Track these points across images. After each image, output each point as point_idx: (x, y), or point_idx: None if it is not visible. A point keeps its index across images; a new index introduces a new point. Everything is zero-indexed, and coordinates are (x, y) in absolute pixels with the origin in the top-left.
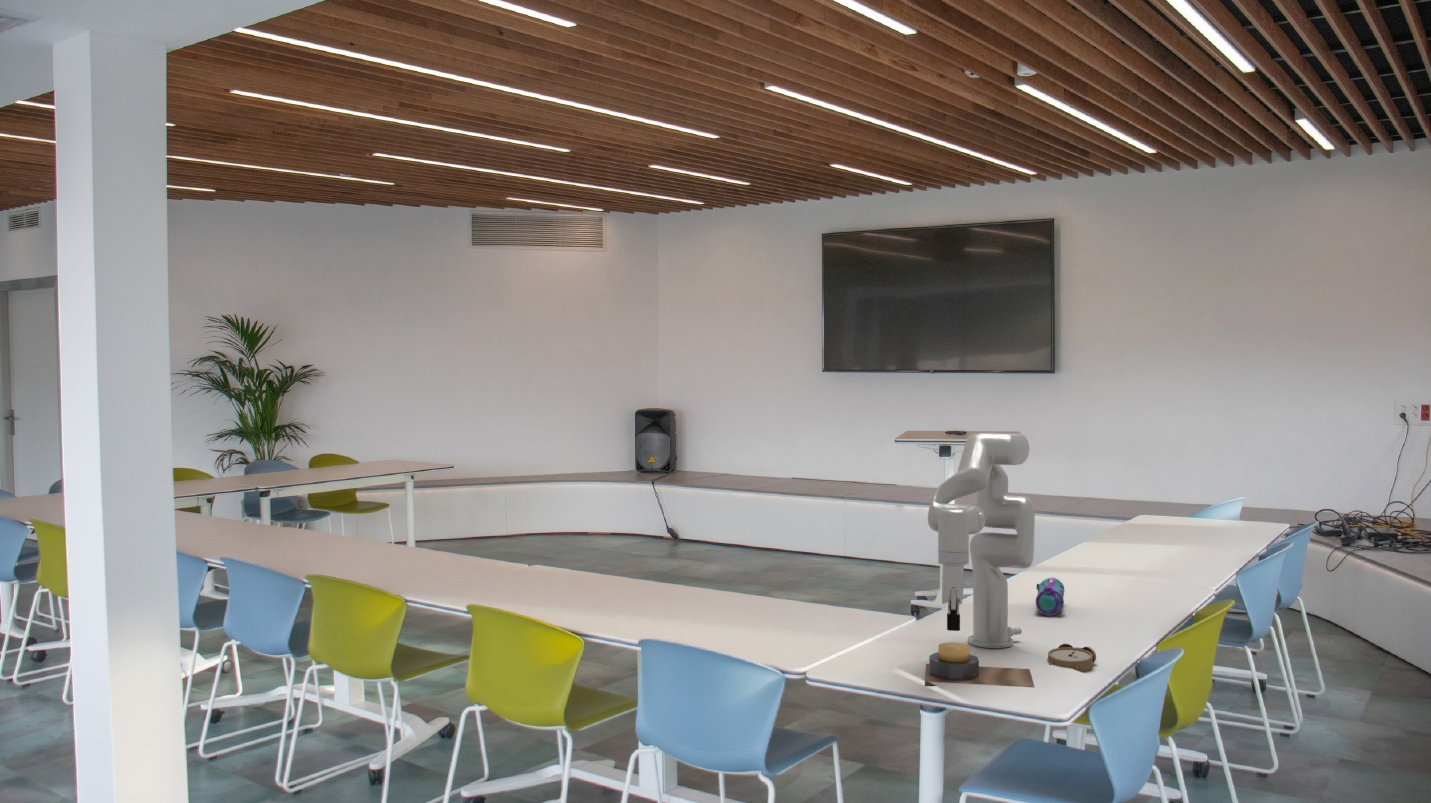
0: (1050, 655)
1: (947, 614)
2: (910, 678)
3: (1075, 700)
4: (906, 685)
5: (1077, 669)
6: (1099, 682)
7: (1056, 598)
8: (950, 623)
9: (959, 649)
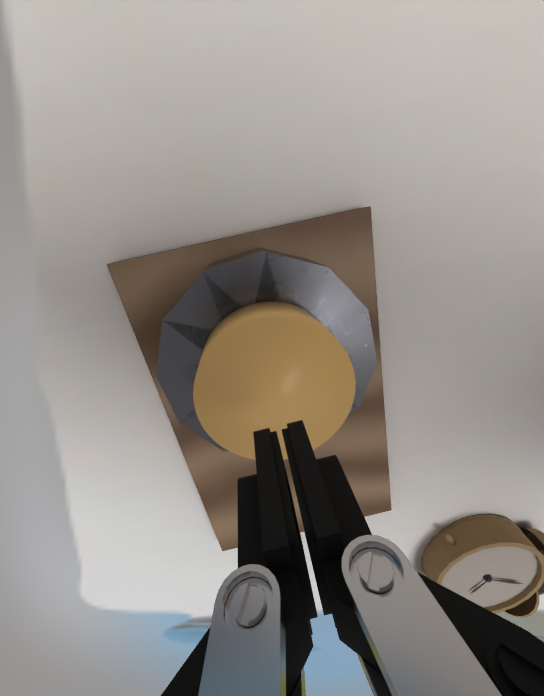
0: (480, 549)
1: (270, 553)
2: (190, 176)
3: (200, 604)
4: (79, 184)
5: None
6: None
7: None
8: (238, 501)
9: (222, 433)
